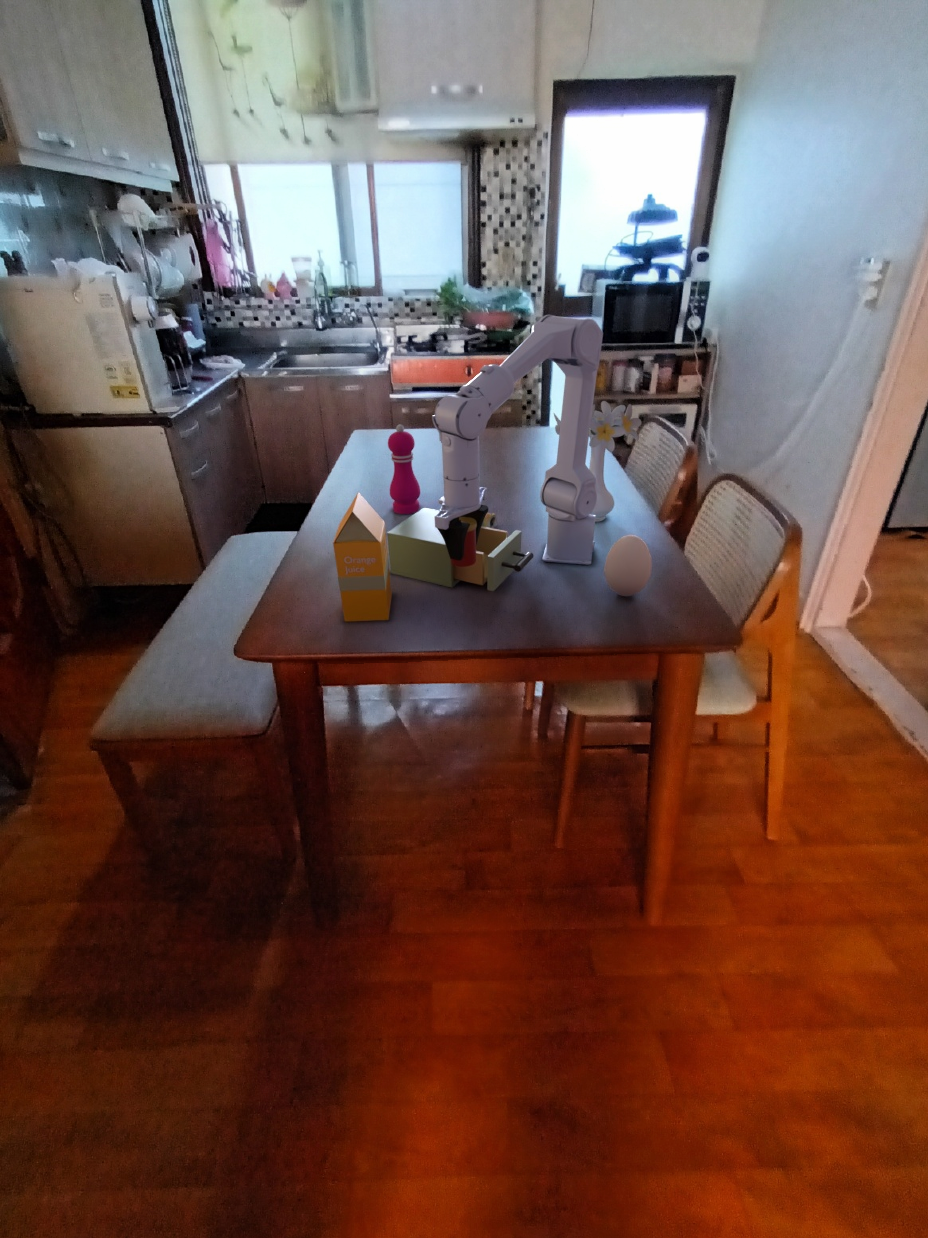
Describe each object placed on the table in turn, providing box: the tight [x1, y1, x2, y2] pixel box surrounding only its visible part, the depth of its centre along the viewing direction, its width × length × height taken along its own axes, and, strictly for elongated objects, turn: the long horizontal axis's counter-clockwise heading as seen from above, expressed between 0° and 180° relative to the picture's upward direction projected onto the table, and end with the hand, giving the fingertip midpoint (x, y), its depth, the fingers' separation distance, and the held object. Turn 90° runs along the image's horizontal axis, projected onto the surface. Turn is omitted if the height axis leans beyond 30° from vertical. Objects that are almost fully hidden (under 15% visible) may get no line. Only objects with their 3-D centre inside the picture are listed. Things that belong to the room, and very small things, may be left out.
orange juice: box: [332, 491, 393, 622], centre depth 104 cm, size 8×9×20 cm
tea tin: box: [450, 517, 477, 567], centre depth 104 cm, size 5×5×7 cm
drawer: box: [453, 526, 534, 592], centre depth 116 cm, size 16×12×7 cm
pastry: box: [484, 512, 499, 529], centre depth 137 cm, size 9×7×4 cm
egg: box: [603, 534, 653, 597], centre depth 109 cm, size 8×8×11 cm
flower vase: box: [553, 400, 642, 523], centre depth 135 cm, size 13×18×25 cm
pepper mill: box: [387, 423, 421, 515], centre depth 143 cm, size 7×7×20 cm
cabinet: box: [386, 507, 484, 588], centre depth 121 cm, size 14×14×9 cm
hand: (463, 552), depth 105 cm, fingers closed on tea tin, 4 cm apart
